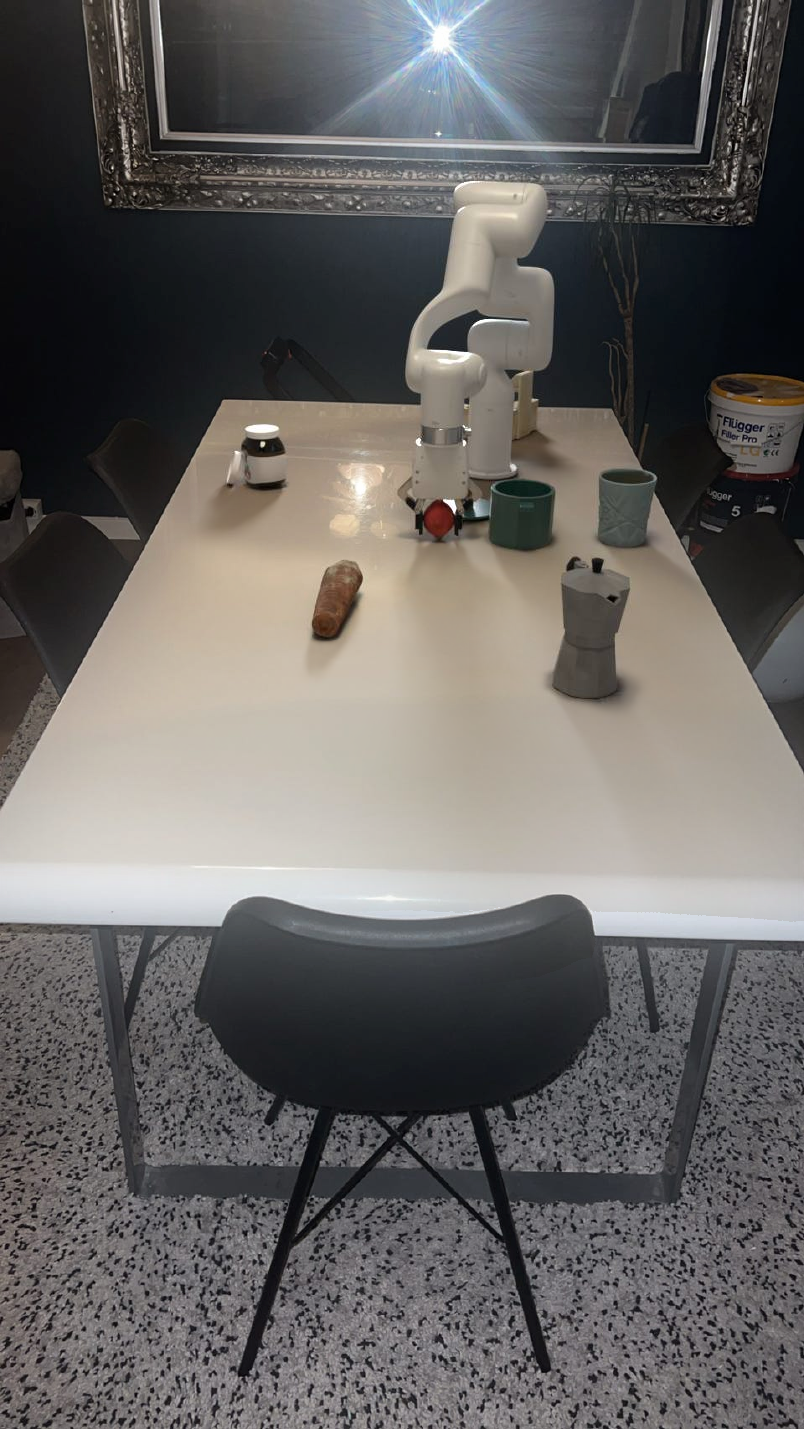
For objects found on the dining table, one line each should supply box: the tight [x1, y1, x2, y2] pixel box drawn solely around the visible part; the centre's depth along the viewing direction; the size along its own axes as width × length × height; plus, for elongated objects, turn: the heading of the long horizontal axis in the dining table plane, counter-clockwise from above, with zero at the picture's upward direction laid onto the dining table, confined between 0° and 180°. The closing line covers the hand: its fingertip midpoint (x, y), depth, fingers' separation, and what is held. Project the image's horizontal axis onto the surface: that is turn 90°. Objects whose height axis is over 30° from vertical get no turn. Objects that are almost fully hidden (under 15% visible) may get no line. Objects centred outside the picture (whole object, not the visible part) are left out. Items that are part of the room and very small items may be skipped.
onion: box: [423, 500, 455, 539], centre depth 188 cm, size 6×6×8 cm
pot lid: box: [443, 488, 490, 521], centre depth 202 cm, size 12×12×6 cm
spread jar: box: [226, 423, 288, 490], centre depth 215 cm, size 12×11×12 cm
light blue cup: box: [597, 467, 658, 548], centre depth 188 cm, size 10×10×12 cm
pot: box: [487, 477, 557, 551], centre depth 188 cm, size 11×17×10 cm
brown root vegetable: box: [311, 559, 364, 638], centre depth 158 cm, size 6×19×6 cm, turn 172°
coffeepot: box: [551, 556, 631, 699], centre depth 137 cm, size 15×9×18 cm, turn 13°
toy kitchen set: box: [463, 370, 539, 441], centre depth 254 cm, size 18×17×15 cm
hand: (438, 532), depth 190 cm, fingers closed on onion, 5 cm apart
